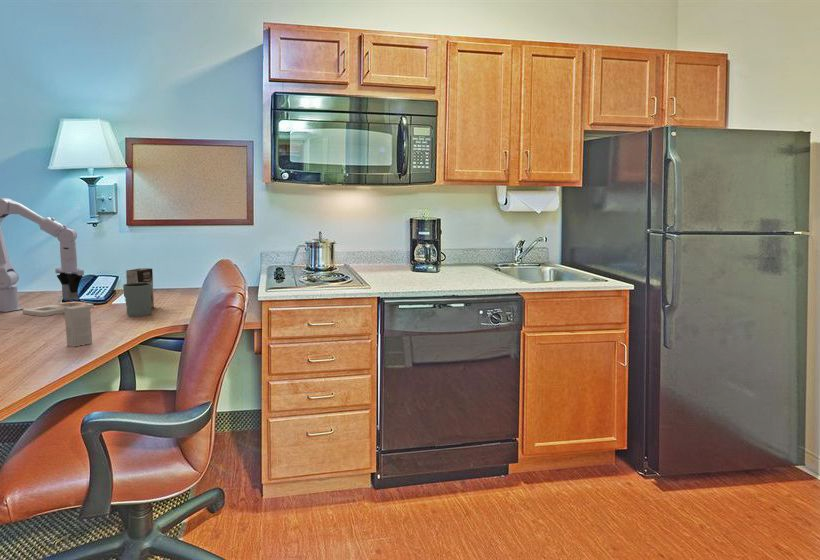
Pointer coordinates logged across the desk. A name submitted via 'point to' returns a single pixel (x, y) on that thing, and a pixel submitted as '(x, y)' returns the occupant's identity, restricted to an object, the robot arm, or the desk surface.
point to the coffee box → (141, 278)
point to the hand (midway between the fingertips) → (70, 292)
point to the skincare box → (78, 325)
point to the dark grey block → (68, 292)
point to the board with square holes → (53, 308)
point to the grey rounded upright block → (138, 298)
